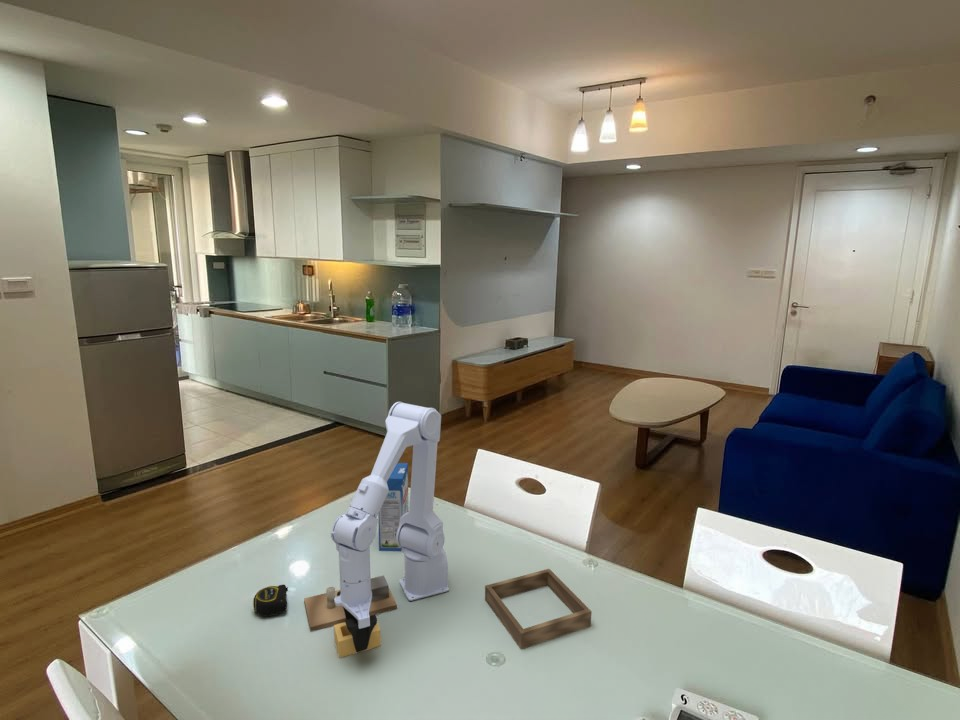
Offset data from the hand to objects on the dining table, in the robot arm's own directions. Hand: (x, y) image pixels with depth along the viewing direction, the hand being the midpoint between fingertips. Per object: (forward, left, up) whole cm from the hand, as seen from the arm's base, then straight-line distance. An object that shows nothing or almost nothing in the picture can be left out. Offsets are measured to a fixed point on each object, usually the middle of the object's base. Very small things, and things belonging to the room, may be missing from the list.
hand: (357, 636), depth 106 cm
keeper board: (-1, -12, -1) cm, 12 cm away
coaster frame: (-37, +6, -1) cm, 38 cm away
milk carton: (-17, -34, -2) cm, 38 cm away
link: (0, 0, -1) cm, 1 cm away
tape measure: (+14, -18, -2) cm, 23 cm away
